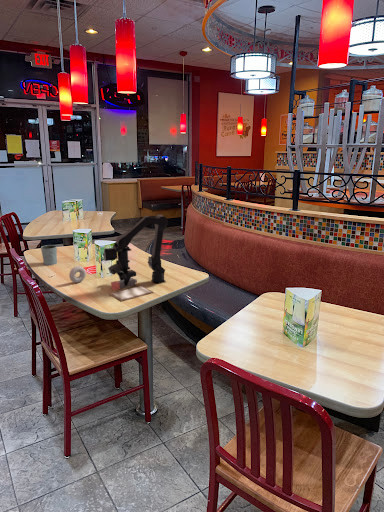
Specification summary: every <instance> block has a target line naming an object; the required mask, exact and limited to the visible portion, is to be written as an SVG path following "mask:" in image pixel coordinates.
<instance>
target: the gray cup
mask: <svg viewBox="0 0 384 512" xmlns="http://www.w3.org/2000/svg"><path fill="white" fill-rule="evenodd" d="M57 248H58V247H57V245H55V244H46V245H41V247H40V250H41V255H42V261H43V265H44V266H54V264H55V265H57V264H58V254H57V253H58V252H57V251H58V250H57Z"/></svg>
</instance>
